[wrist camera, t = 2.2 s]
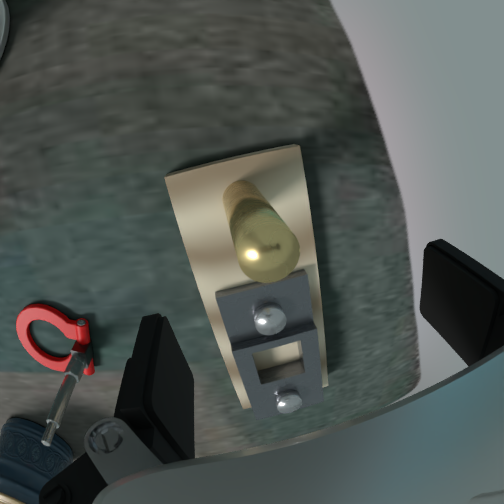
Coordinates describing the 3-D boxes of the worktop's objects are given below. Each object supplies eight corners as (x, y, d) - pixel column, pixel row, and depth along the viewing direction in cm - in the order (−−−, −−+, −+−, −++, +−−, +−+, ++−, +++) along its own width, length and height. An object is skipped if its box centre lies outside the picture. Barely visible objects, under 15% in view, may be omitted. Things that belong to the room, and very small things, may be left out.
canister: (3, 434, 33) (-21, 512, 17) (7, 403, 30) (-27, 499, 14) (66, 467, 38) (54, 547, 22) (83, 444, 35) (68, 544, 19)
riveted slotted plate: (214, 291, 26) (216, 312, 23) (303, 268, 26) (315, 286, 23) (253, 406, 32) (258, 427, 30) (318, 388, 33) (326, 407, 30)
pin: (218, 185, 22) (231, 233, 13) (256, 176, 22) (295, 217, 13) (227, 221, 23) (245, 289, 14) (263, 212, 24) (303, 274, 15)
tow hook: (28, 355, 28) (98, 373, 29) (-16, 437, 16) (67, 470, 18) (14, 294, 25) (90, 311, 26) (-52, 375, 13) (39, 415, 15)
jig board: (166, 174, 23) (164, 177, 21) (294, 143, 23) (299, 145, 22) (241, 399, 34) (243, 409, 32) (324, 376, 34) (328, 385, 33)
